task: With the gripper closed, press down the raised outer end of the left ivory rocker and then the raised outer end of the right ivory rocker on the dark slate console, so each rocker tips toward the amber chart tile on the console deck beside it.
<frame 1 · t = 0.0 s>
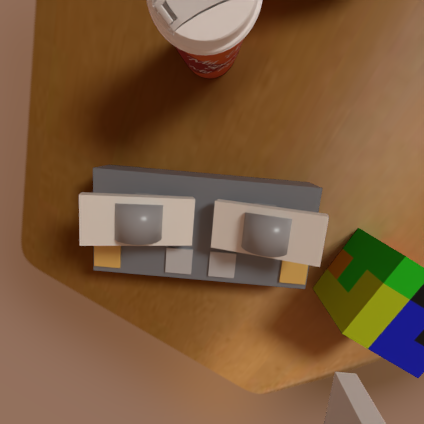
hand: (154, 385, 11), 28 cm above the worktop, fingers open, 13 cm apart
coffee cup: (210, 51, 34), on the worktop
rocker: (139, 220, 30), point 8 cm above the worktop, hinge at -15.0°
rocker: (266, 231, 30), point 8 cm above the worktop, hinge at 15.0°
console: (205, 219, 38), on the worktop
puzzle toy: (364, 276, 40), on the worktop
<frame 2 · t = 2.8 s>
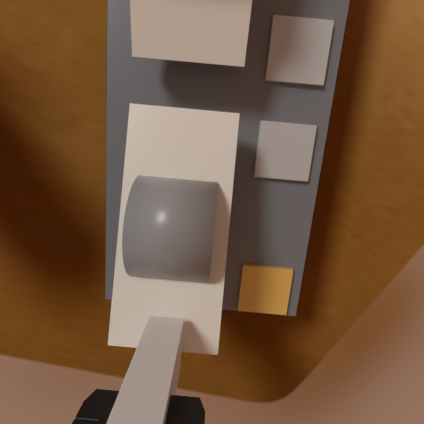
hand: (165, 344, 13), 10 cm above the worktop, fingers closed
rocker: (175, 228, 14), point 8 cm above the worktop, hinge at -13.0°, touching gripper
console: (218, 108, 21), on the worktop
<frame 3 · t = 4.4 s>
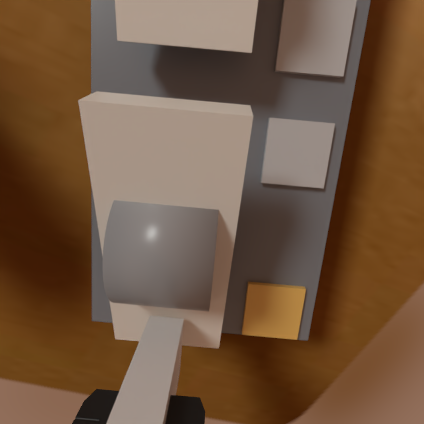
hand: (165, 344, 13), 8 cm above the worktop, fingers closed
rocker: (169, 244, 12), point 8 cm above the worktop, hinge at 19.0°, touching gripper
console: (220, 104, 18), on the worktop
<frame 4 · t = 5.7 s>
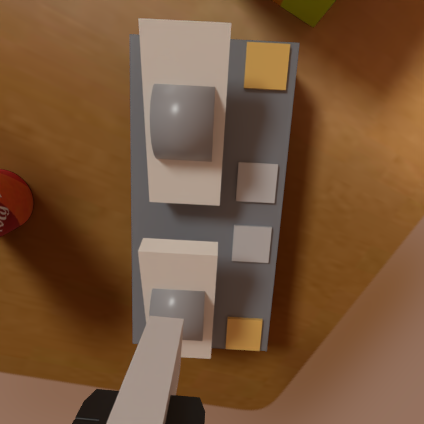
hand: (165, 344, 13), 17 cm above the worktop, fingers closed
coffee cup: (4, 198, 29), on the worktop
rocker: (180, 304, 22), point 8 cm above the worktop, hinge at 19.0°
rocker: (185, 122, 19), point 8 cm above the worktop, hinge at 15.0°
console: (208, 199, 29), on the worktop
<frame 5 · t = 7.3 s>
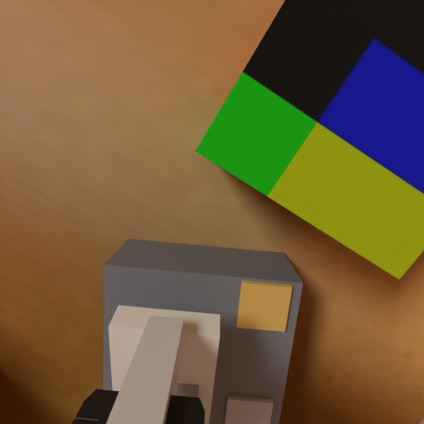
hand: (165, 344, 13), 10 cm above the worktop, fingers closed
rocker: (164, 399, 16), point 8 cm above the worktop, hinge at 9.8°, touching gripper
console: (194, 383, 25), on the worktop
puzzle toy: (303, 125, 21), on the worktop
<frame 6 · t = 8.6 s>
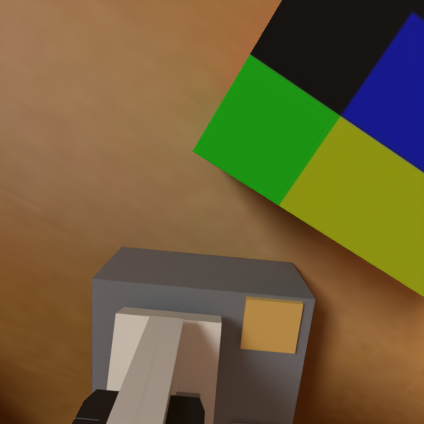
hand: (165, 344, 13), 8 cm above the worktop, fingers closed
console: (193, 402, 23), on the worktop
puzzle toy: (313, 122, 19), on the worktop
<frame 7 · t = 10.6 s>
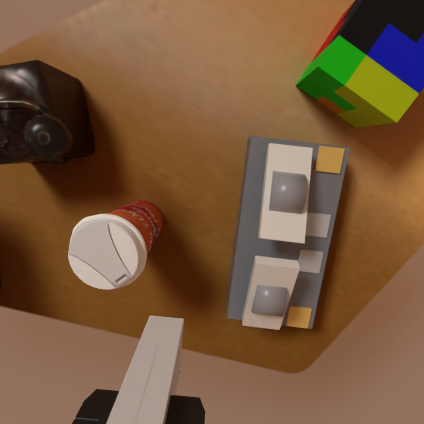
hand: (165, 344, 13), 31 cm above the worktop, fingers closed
coffee cup: (143, 219, 45), on the worktop
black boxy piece: (71, 121, 42), on the worktop
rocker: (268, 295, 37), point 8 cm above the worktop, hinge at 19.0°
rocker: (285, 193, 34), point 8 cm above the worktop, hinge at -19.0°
console: (277, 228, 44), on the worktop
puzzle toy: (349, 73, 39), on the worktop
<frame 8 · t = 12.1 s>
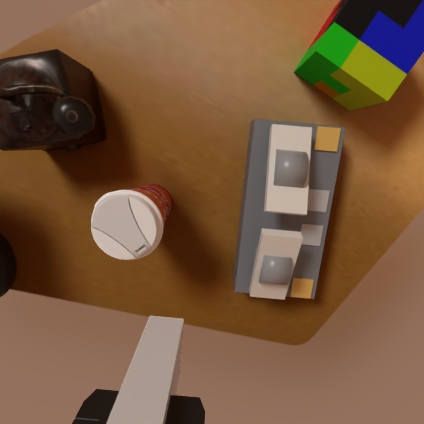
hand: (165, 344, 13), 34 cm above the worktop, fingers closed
coffee cup: (153, 202, 47), on the worktop
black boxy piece: (83, 110, 44), on the worktop
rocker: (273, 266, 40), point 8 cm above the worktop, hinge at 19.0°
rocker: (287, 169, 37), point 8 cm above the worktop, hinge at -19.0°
console: (279, 207, 47), on the worktop
puzzle toy: (342, 60, 42), on the worktop
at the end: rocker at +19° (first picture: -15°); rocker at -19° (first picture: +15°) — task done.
